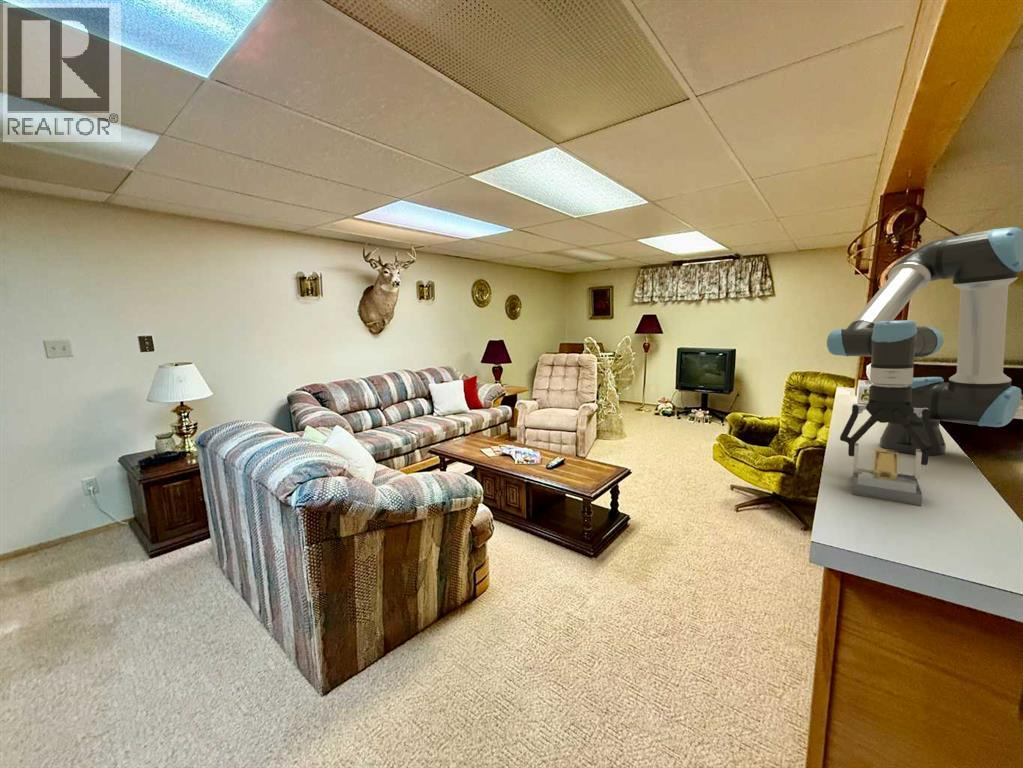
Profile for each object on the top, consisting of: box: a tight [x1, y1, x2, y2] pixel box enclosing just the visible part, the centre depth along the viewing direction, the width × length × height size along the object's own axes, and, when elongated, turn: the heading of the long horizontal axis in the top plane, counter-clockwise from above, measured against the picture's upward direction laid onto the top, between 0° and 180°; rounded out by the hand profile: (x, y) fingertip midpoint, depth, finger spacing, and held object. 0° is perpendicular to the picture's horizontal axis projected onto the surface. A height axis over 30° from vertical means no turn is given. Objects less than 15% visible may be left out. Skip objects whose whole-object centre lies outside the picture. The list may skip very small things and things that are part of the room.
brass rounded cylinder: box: [872, 448, 900, 479], centre depth 99 cm, size 4×4×10 cm
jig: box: [851, 467, 923, 506], centre depth 100 cm, size 14×12×5 cm
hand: (885, 472), depth 99 cm, fingers open, 10 cm apart
